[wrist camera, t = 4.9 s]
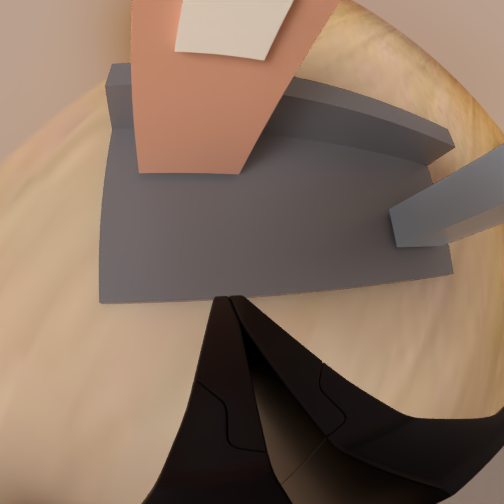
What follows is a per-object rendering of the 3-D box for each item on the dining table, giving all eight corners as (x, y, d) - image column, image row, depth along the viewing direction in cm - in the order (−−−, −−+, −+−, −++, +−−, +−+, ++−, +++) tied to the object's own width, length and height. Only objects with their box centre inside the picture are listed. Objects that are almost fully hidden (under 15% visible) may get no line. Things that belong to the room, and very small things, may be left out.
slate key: (441, 250, 21) (565, 202, 9) (397, 252, 20) (552, 189, 8) (433, 213, 22) (549, 155, 10) (388, 209, 20) (527, 128, 8)
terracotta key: (239, 180, 17) (355, -9, 5) (138, 179, 15) (134, -49, 3) (235, 135, 18) (323, -42, 6) (143, 132, 16) (156, -70, 4)
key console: (447, 274, 23) (488, 263, 18) (102, 303, 14) (76, 295, 10) (416, 152, 26) (447, 129, 21) (117, 114, 17) (112, 63, 13)
